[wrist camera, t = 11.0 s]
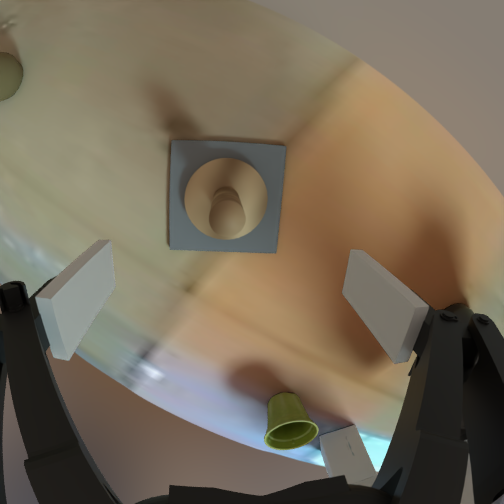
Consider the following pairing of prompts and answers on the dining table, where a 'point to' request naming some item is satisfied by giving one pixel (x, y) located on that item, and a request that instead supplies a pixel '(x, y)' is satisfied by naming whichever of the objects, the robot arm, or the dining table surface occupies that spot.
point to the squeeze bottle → (9, 75)
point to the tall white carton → (347, 456)
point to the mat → (200, 152)
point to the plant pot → (288, 423)
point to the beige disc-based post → (226, 198)
